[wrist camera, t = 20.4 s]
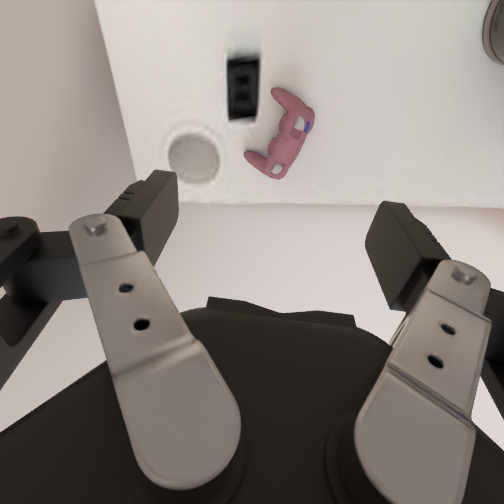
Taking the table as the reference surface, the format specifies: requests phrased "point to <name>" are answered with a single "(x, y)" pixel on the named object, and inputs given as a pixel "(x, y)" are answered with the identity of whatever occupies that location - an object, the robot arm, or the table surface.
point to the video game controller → (285, 136)
